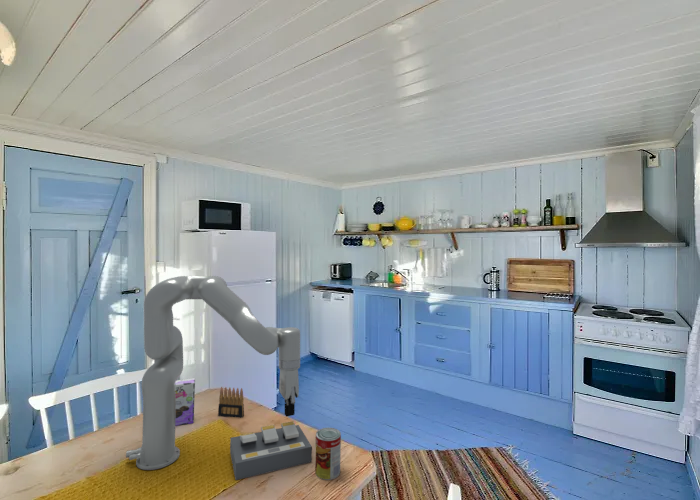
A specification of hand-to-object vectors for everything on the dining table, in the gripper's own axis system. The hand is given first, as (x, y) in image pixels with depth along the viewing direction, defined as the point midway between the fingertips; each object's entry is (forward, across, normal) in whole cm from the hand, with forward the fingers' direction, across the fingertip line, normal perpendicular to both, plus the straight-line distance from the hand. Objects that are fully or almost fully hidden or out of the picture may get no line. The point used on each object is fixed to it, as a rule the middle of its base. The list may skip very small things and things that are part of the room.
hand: (289, 414), depth 124 cm
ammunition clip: (+11, -32, -17) cm, 38 cm away
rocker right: (+5, +2, 0) cm, 5 cm away
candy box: (+11, -34, -38) cm, 52 cm away
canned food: (+12, +19, +7) cm, 23 cm away
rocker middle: (+5, +2, -8) cm, 9 cm away
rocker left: (+4, +2, -14) cm, 15 cm away
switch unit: (+11, +4, -8) cm, 14 cm away
